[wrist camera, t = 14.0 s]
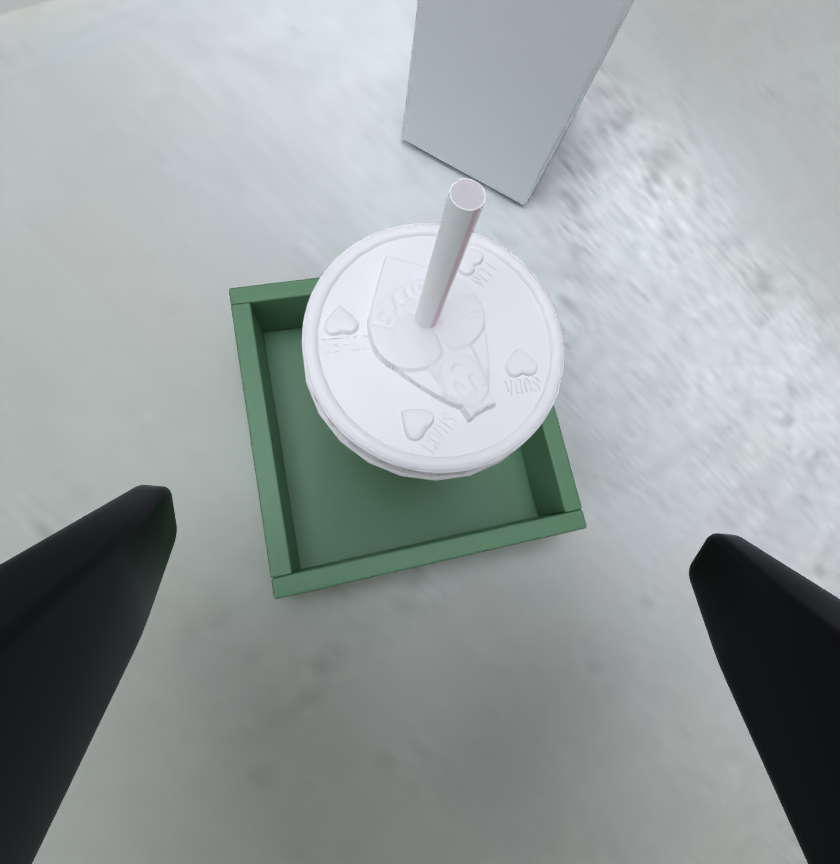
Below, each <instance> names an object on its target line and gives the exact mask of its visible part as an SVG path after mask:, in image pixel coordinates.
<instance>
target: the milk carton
mask: <svg viewBox="0 0 840 864" xmlns="http://www.w3.org/2000/svg"><path fill="white" fill-rule="evenodd" d="M633 2H634V0H418V5H417V13H416V21H415V30H414V38H413V46H412V55H411V63H410V71H409V80H408V88H407V96H406V105H405V113H404V121H403V130H402V139H404V140H405V141H407V142H409V143H411V144H412V145H414V146H416V147H418V148H420V149H421V150H423V151H425V152H427V153H429V154H431V155H432V156H434V157H436V158H438V159H440V160H442V161H443V162H445V163H447V164H449V165H451V166H452V167H454V168H456V169H458V170H460V171H462V172H463V173H465V174H467V175H469V176H471V177H473V178H474V179H476V180H478V181H480V182H482V183H484V184H485V185H487V186H489V187H491V188H493V189H495V190H496V191H498V192H500V193H502V194H504V195H506V196H508V197H509V198H511V199H513V200H515V201H517V202H519V203H520V204H522V205H525V204H526V203H527V202H528V200H529V198H530V196H531V195H532V193H533V191H534V189H535V187H536V185H537V184H538V182H539V180H540V178H541V176H542V174H543V172H544V171H545V169H546V167H547V165H548V163H549V161H550V160H551V158H552V156H553V154H554V152H555V150H556V148H557V147H558V145H559V143H560V141H561V139H562V137H563V135H564V134H565V132H566V130H567V128H568V126H569V124H570V123H571V121H572V119H573V117H574V115H575V113H576V111H577V109H578V107H579V105H580V104H581V102H582V100H583V98H584V96H585V94H586V92H587V90H588V88H589V86H590V84H591V82H592V81H593V79H594V77H595V75H596V73H597V71H598V69H599V67H600V65H601V63H602V61H603V59H604V57H605V56H606V54H607V52H608V50H609V48H610V46H611V44H612V42H613V40H614V38H615V36H616V34H617V33H618V31H619V29H620V27H621V25H622V23H623V21H624V19H625V17H626V15H627V13H628V11H629V9H630V8H631V6H632V4H633Z"/></svg>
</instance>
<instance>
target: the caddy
mask: <svg viewBox="0 0 840 864" xmlns="http://www.w3.org/2000/svg"><path fill="white" fill-rule="evenodd" d="M319 279H320V278H313V279H305V280H296V281H288V282H280V283H271V284H263V285H255V286H246V287H238V288H230V289H229V295H230V301H231V305H232V306H231V309H232V316H233V323H234V330H235V336H236V343H237V350H238V357H239V363H240V370H241V377H242V384H243V391H244V397H245V404H246V411H247V418H248V424H249V431H250V438H251V445H252V452H253V458H254V465H255V472H256V479H257V486H258V492H259V499H260V506H261V513H262V519H263V526H264V533H265V540H266V547H267V553H268V560H269V567H270V574H271V577H272V578H273V579H272V586H273V593H274V598H275V599H279V598H284V597H288V596H292V595H297V594H301V593H305V592H310V591H314V590H319V589H323V588H327V587H332V586H336V585H340V584H345V583H349V582H353V581H358V580H362V579H366V578H371V577H375V576H379V575H384V574H388V573H392V572H397V571H401V570H406V569H410V568H414V567H419V566H423V565H427V564H432V563H436V562H440V561H445V560H449V559H453V558H458V557H462V556H466V555H471V554H475V553H479V552H484V551H488V550H493V549H497V548H501V547H506V546H510V545H514V544H519V543H523V542H527V541H532V540H536V539H540V538H545V537H549V536H553V535H558V534H562V533H566V532H571V531H575V530H580V529H584V528H586V523H585V519H584V515H583V512H582V510H580V509H581V504H580V500H579V496H578V493H577V489H576V485H575V482H574V478H573V474H572V471H571V467H570V463H569V460H568V456H567V452H566V449H565V445H564V441H563V438H562V434H561V430H560V426H559V423H558V419H557V415H556V412H555V408H554V404H553V406H552V408H551V410H550V412H549V413H548V415H547V417H546V418H545V420H544V421H543V423H542V424H541V425H540V427H539V428H538V429H537V430H536V431H535V433H534V434H533V435H532V436H531V437H530V438H529V439H528V440H527V441H525V443H523V444H522V445H521V446H520V447H518V448H517V449H516V450H515V451H514V452H512V453H511V454H510V455H509V456H508V457H506V458H505V459H504V460H503V461H501V462H500V463H498V464H496V465H494V466H491V467H489V468H487V469H484V470H482V471H480V472H477V473H475V474H473V475H471V476H465V477H458V478H451V479H444V480H437V481H435V480H427V479H419V478H411V477H404V476H399V475H397V474H394V473H392V472H390V471H387V470H385V469H382V468H380V467H377V466H375V465H372V464H370V463H368V462H367V461H365V460H364V459H363V458H361V457H360V456H359V455H357V454H356V453H355V452H353V451H352V450H351V449H349V448H348V447H347V446H345V445H344V444H343V443H341V442H340V441H339V439H338V438H337V437H336V436H335V434H334V433H333V432H332V430H331V429H330V428H329V426H328V425H327V424H326V423H325V421H324V420H323V419H322V417H321V416H320V415H319V413H318V411H317V408H316V406H315V403H314V401H313V399H312V396H311V394H310V391H309V389H308V386H307V384H306V378H305V369H304V360H303V353H302V328H303V321H304V315H305V312H306V308H307V304H308V302H309V299H310V296H311V294H312V292H313V290H314V288H315V286H316V284H317V282H318V280H319Z"/></svg>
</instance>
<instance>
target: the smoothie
mask: <svg viewBox="0 0 840 864" xmlns="http://www.w3.org/2000/svg"><path fill="white" fill-rule="evenodd" d="M485 199H486V194H485V190H484V189H483V187H482V186H481V185H480V184H479V183H478V182H476V181H475V180H472V179H468V178H463V179H459V180H457V181H455V182H454V183H453V184H452V186H451V188H450V191H449V195H448V198H447V202H446V205H445V209H444V213H443V216H442V220H441V223H440V224H436V223H413V224H404V225H399V226H394V227H390V228H387V229H383V230H381V231H378V232H376V233H373V234H371V235H369V236H367V237H365V238H363V239H361V240H359V241H358V242H356V243H354V244H353V245H351V246H350V247H349V248H347V249H346V250H345V251H344V252H342V253H341V254H340V255H339V256H338V257H337V258H336V259H335V260H334V261H333V262H332V263H331V264H330V265H329V267H328V268H327V269H326V270H325V271H324V273H323V274H322V276H321V277H320V279H319V280H318V282H317V284H316V286H315V288H314V290H313V292H312V294H311V296H310V299H309V302H308V304H307V308H306V312H305V315H304V321H303V328H302V353H303V360H304V369H305V378H306V384H307V386H308V389H309V391H310V394H311V396H312V399H313V401H314V403H315V406H316V408H317V411H318V413H319V415H320V416H321V417H322V419H323V420H324V421H325V423H326V424H327V425H328V426H329V428H330V429H331V430H332V432H333V433H334V434H335V436H336V437H337V438H338V439H339V441H340V442H341V443H343V444H344V445H345V446H347V447H348V448H349V449H351V450H352V451H353V452H355V453H356V454H357V455H359V456H360V457H361V458H363V459H364V460H365V461H367V462H368V463H370V464H372V465H375V466H377V467H380V468H382V469H385V470H387V471H390V472H392V473H394V474H397V475H399V476H404V477H411V478H419V479H427V480H435V481H437V480H444V479H451V478H458V477H465V476H471V475H473V474H475V473H477V472H480V471H482V470H484V469H487V468H489V467H491V466H494V465H496V464H498V463H500V462H501V461H503V460H504V459H505V458H506V457H508V456H509V455H510V454H511V453H512V452H514V451H515V450H516V449H517V448H518V447H520V446H521V445H522V444H523V443H525V441H527V440H528V439H529V438H530V437H531V436H532V435H533V434H534V433H535V431H536V430H537V429H538V428H539V427H540V425H541V424H542V423H543V421H544V420H545V418H546V417H547V415H548V413H549V412H550V410H551V408H552V406H553V404H554V402H555V399H556V397H557V394H558V391H559V388H560V384H561V380H562V374H563V367H564V344H563V337H562V331H561V327H560V323H559V319H558V316H557V313H556V311H555V308H554V306H553V304H552V302H551V300H550V298H549V296H548V294H547V292H546V291H545V289H544V287H543V286H542V284H541V283H540V282H539V280H538V279H537V277H536V276H535V275H534V274H533V273H532V271H531V270H530V269H529V268H528V267H527V266H526V265H525V264H524V263H523V262H522V261H521V260H520V259H519V258H518V257H516V256H515V255H514V254H513V253H511V252H510V251H509V250H507V249H506V248H504V247H503V246H501V245H500V244H498V243H496V242H495V241H493V240H491V239H489V238H487V237H485V236H483V235H481V234H478V233H476V232H473V230H474V228H475V225H476V223H477V220H478V218H479V215H480V212H481V210H482V207H483V205H484V202H485Z"/></svg>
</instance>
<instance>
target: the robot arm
mask: <svg viewBox="0 0 840 864" xmlns="http://www.w3.org/2000/svg"><path fill="white" fill-rule="evenodd" d="M176 532H177V526H176V519H175V513H174V507H173V500H172V495H171V492H170V490H169V489H168V488H166V487H163V486H151V485H140V486H137V487H135V488H133V489H131V490H129V491H128V492H126V493H124V494H123V495H121V496H119V497H117V498H116V499H114V500H112V501H110V502H109V503H107V504H105V505H103V506H102V507H100V508H98V509H96V510H95V511H93V512H91V513H89V514H88V515H86V516H84V517H82V518H81V519H79V520H77V521H75V522H74V523H72V524H70V525H68V526H67V527H65V528H63V529H62V530H60V531H58V532H56V533H55V534H53V535H51V536H49V537H48V538H46V539H44V540H42V541H41V542H39V543H37V544H35V545H34V546H32V547H30V548H28V549H27V550H25V551H23V552H21V553H20V554H18V555H16V556H14V557H13V558H11V559H9V560H7V561H6V562H4V563H2V564H0V864H32V862H33V860H34V858H35V856H36V854H37V852H38V850H39V848H40V846H41V844H42V842H43V840H44V837H45V835H46V833H47V831H48V829H49V827H50V825H51V823H52V821H53V819H54V817H55V815H56V813H57V810H58V808H59V806H60V804H61V802H62V800H63V798H64V796H65V794H66V792H67V790H68V788H69V786H70V783H71V781H72V779H73V777H74V775H75V773H76V771H77V769H78V767H79V765H80V763H81V761H82V759H83V756H84V754H85V752H86V750H87V748H88V746H89V744H90V742H91V740H92V738H93V736H94V734H95V732H96V729H97V727H98V725H99V723H100V721H101V719H102V717H103V715H104V713H105V711H106V709H107V707H108V705H109V702H110V700H111V698H112V696H113V694H114V692H115V690H116V688H117V686H118V684H119V682H120V680H121V677H122V675H123V673H124V671H125V669H126V667H127V665H128V663H129V661H130V659H131V657H132V655H133V653H134V650H135V648H136V646H137V644H138V642H139V639H140V637H141V635H142V633H143V630H144V627H145V625H146V622H147V620H148V617H149V614H150V611H151V608H152V605H153V603H154V600H155V597H156V594H157V591H158V588H159V585H160V582H161V580H162V577H163V574H164V571H165V568H166V565H167V562H168V560H169V557H170V554H171V551H172V548H173V545H174V542H175V538H176ZM689 577H690V582H691V584H692V587H693V590H694V593H695V596H696V599H697V602H698V605H699V608H700V611H701V614H702V617H703V620H704V623H705V626H706V628H707V631H708V634H709V637H710V640H711V643H712V646H713V649H714V652H715V654H716V657H717V660H718V663H719V665H720V667H721V670H722V672H723V675H724V677H725V679H726V681H727V684H728V686H729V688H730V690H731V693H732V695H733V697H734V699H735V702H736V704H737V706H738V708H739V711H740V713H741V715H742V717H743V719H744V722H745V724H746V726H747V728H748V731H749V733H750V735H751V737H752V740H753V742H754V744H755V746H756V748H757V751H758V753H759V755H760V757H761V760H762V762H763V764H764V766H765V769H766V771H767V773H768V775H769V777H770V780H771V782H772V784H773V786H774V789H775V791H776V793H777V795H778V798H779V800H780V802H781V804H782V807H783V809H784V811H785V813H786V815H787V818H788V820H789V822H790V824H791V827H792V829H793V831H794V833H795V836H796V838H797V840H798V842H799V844H800V847H801V849H802V851H803V853H804V856H805V858H806V860H807V862H808V864H840V599H839V598H837V597H835V596H834V595H832V594H831V593H829V592H827V591H826V590H824V589H823V588H821V587H819V586H818V585H816V584H815V583H813V582H811V581H810V580H808V579H807V578H805V577H804V576H802V575H800V574H799V573H797V572H796V571H794V570H792V569H791V568H789V567H788V566H786V565H784V564H783V563H781V562H780V561H778V560H776V559H775V558H773V557H772V556H770V555H768V554H767V553H765V552H764V551H762V550H760V549H759V548H757V547H756V546H754V545H752V544H751V543H749V542H748V541H746V540H745V539H743V538H741V537H739V536H736V535H730V534H718V533H717V534H712V535H711V536H709V537H708V538H707V539H706V541H705V543H704V544H703V546H702V547H701V549H700V551H699V552H698V554H697V555H696V557H695V559H694V560H693V562H692V563H691V566H690V569H689Z"/></svg>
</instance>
